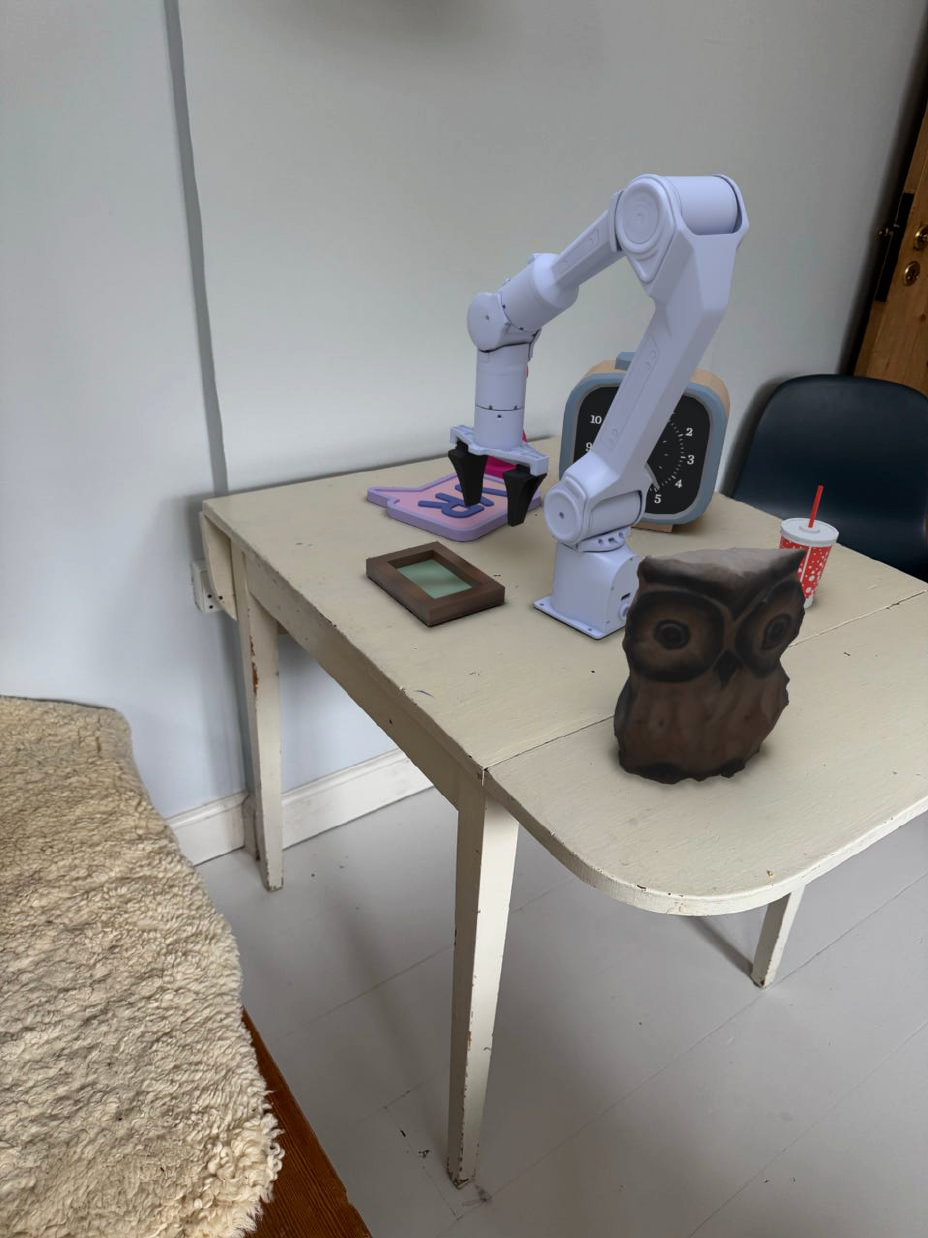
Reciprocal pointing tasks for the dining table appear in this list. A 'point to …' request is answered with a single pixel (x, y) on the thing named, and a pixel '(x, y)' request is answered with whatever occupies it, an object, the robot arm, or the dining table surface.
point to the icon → (448, 507)
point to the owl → (706, 660)
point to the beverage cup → (809, 547)
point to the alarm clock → (680, 452)
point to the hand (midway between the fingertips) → (493, 514)
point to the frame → (435, 582)
